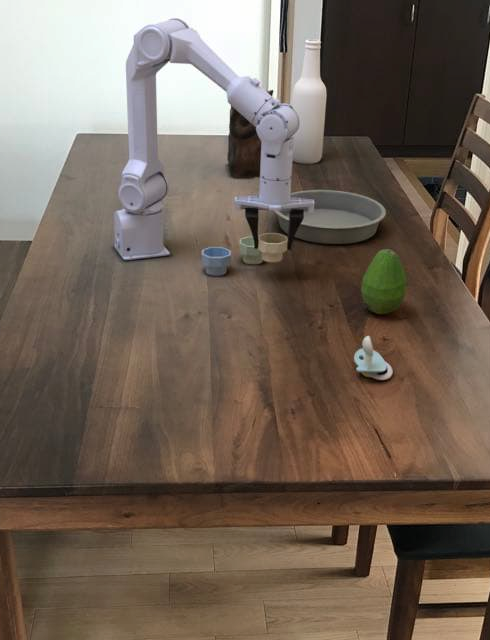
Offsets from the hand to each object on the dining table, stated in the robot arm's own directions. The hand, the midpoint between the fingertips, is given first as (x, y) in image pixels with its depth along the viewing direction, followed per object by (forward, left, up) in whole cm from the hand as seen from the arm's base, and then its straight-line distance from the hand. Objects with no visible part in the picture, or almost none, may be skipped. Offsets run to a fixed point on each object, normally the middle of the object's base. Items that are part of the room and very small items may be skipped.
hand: (272, 247), depth 168 cm
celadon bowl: (0, +9, -6) cm, 11 cm away
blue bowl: (-9, +6, -6) cm, 12 cm away
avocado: (+13, -20, -6) cm, 25 cm away
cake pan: (+23, +22, -6) cm, 32 cm away
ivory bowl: (0, 0, -2) cm, 2 cm away
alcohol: (+40, +70, -6) cm, 81 cm away
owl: (+21, +65, -6) cm, 69 cm away
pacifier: (+1, -39, -6) cm, 40 cm away
